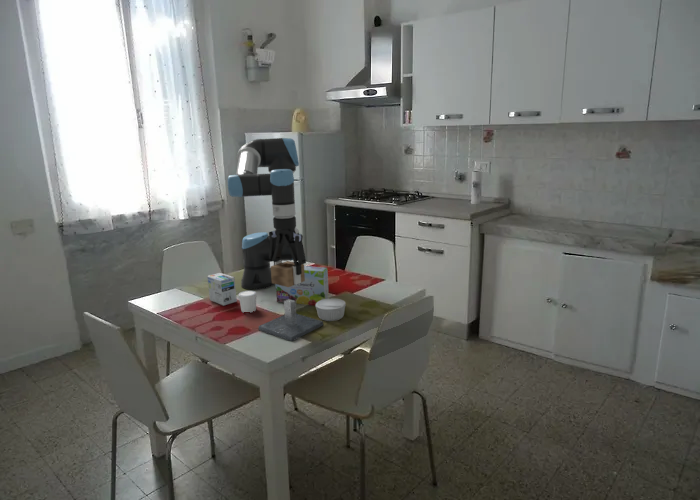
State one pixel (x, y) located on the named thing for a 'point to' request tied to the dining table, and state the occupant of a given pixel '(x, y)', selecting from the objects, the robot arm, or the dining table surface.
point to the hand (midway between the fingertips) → (288, 281)
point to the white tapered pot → (247, 301)
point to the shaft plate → (291, 330)
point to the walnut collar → (285, 274)
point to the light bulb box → (222, 288)
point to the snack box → (306, 288)
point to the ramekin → (330, 309)
